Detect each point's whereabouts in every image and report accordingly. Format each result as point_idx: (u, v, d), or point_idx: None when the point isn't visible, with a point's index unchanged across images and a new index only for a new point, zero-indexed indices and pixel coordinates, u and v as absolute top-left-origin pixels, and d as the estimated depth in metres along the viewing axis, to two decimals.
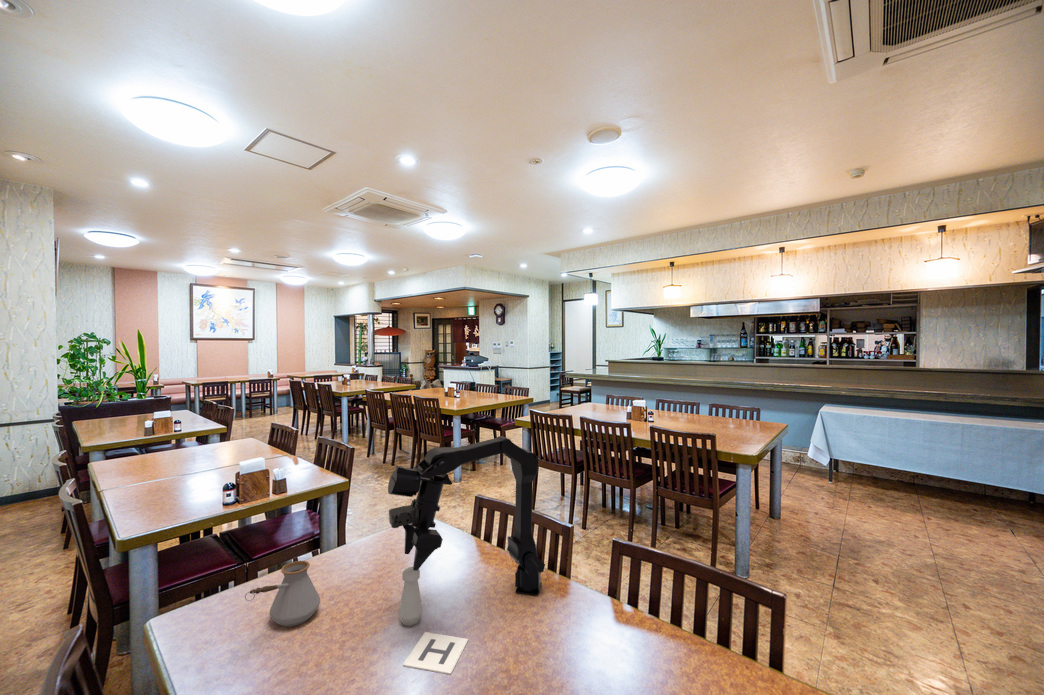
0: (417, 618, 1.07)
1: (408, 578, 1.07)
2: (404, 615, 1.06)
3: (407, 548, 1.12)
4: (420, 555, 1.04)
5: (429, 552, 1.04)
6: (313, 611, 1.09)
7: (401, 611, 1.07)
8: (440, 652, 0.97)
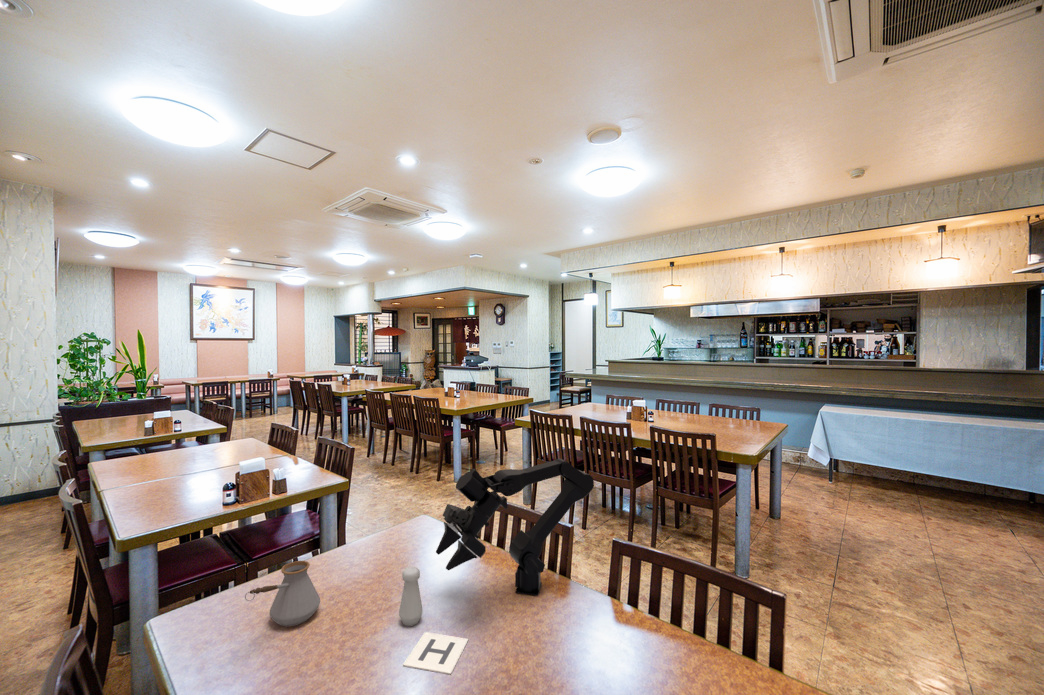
0: (417, 618, 1.07)
1: (408, 578, 1.07)
2: (404, 615, 1.06)
3: (440, 548, 1.17)
4: (458, 557, 1.08)
5: (467, 558, 1.09)
6: (313, 611, 1.09)
7: (401, 611, 1.07)
8: (440, 652, 0.97)
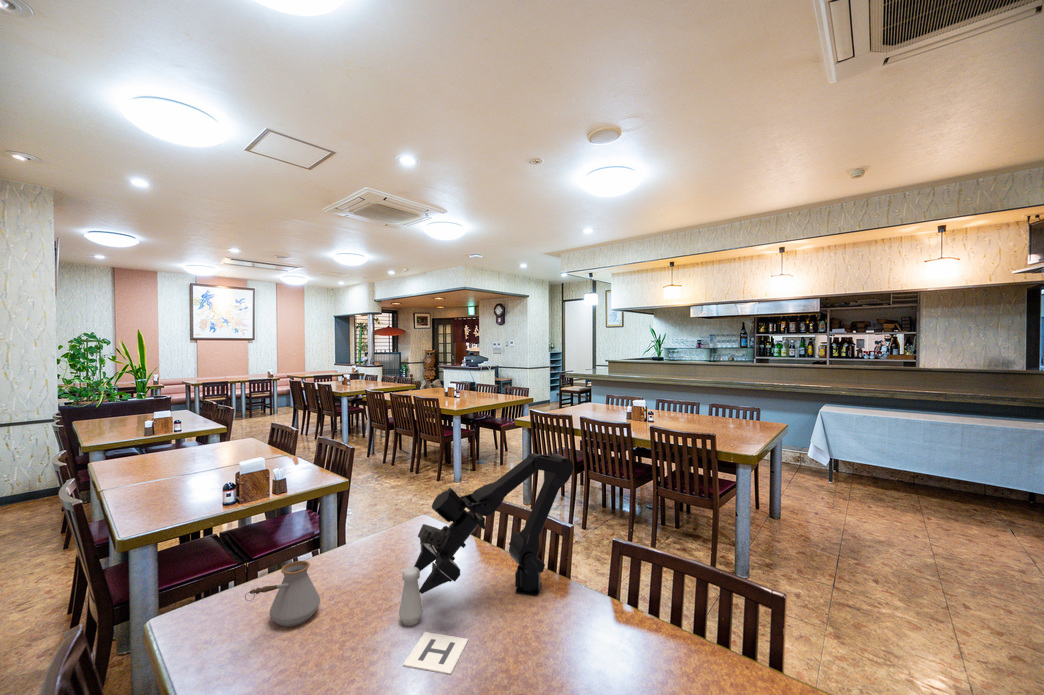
0: (417, 618, 1.07)
1: (408, 578, 1.07)
2: (404, 615, 1.06)
3: None
4: (432, 580, 1.06)
5: (441, 581, 1.06)
6: (313, 611, 1.09)
7: (401, 611, 1.07)
8: (440, 652, 0.97)
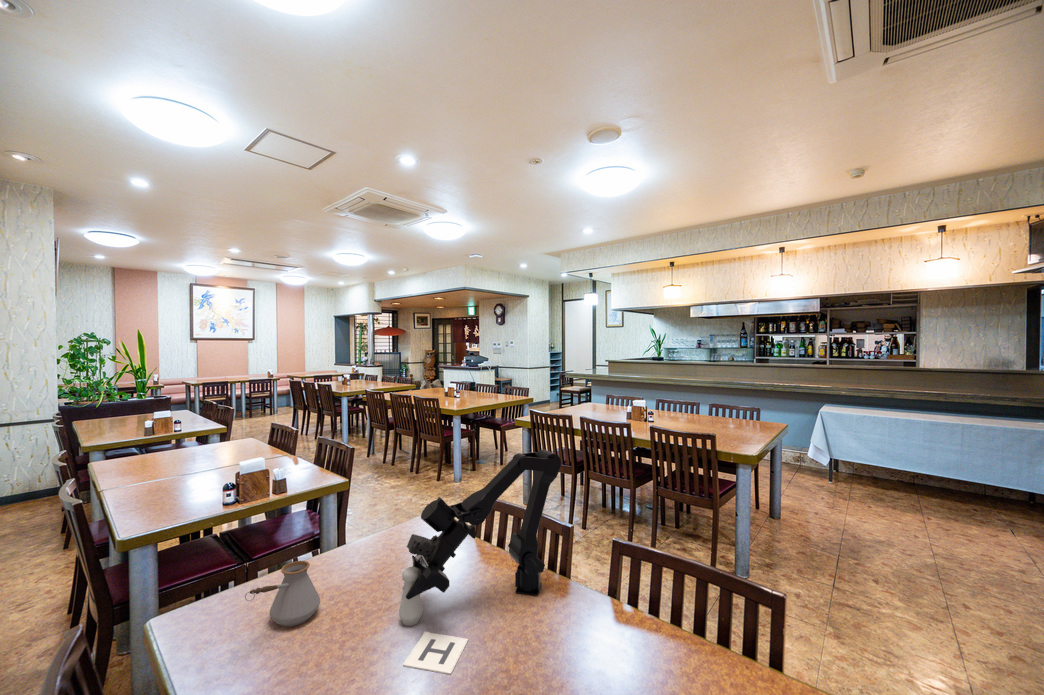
0: (417, 618, 1.07)
1: (408, 578, 1.07)
2: (404, 615, 1.06)
3: None
4: (419, 586, 1.07)
5: (427, 587, 1.07)
6: (313, 611, 1.09)
7: (401, 611, 1.07)
8: (440, 652, 0.97)
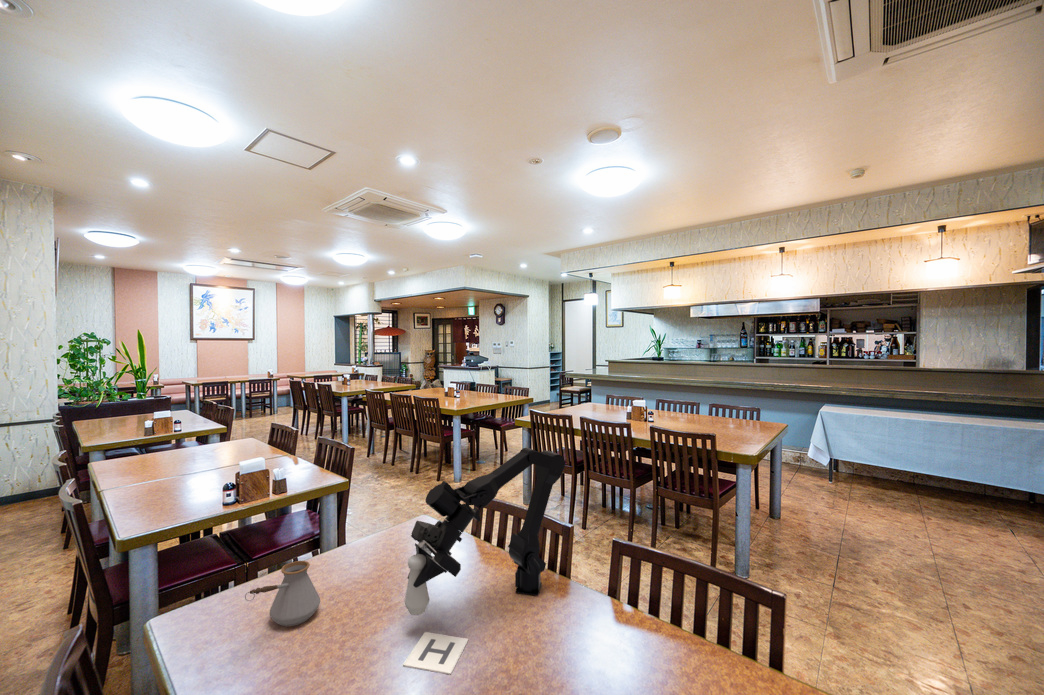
0: (425, 606, 1.03)
1: (416, 565, 1.03)
2: (412, 604, 1.02)
3: None
4: (427, 573, 1.03)
5: (436, 573, 1.04)
6: (313, 611, 1.09)
7: (408, 600, 1.02)
8: (440, 652, 0.97)
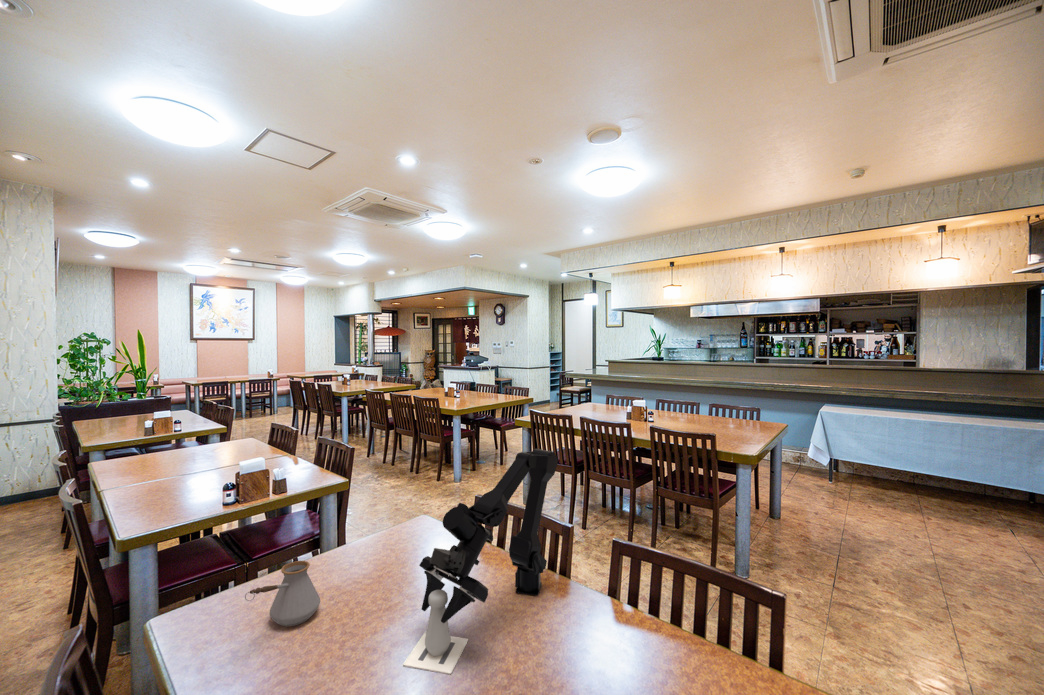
0: (448, 645, 0.97)
1: (440, 602, 0.96)
2: (436, 645, 0.95)
3: (426, 603, 0.99)
4: (455, 605, 0.96)
5: (463, 604, 0.97)
6: (313, 611, 1.09)
7: (432, 641, 0.95)
8: None
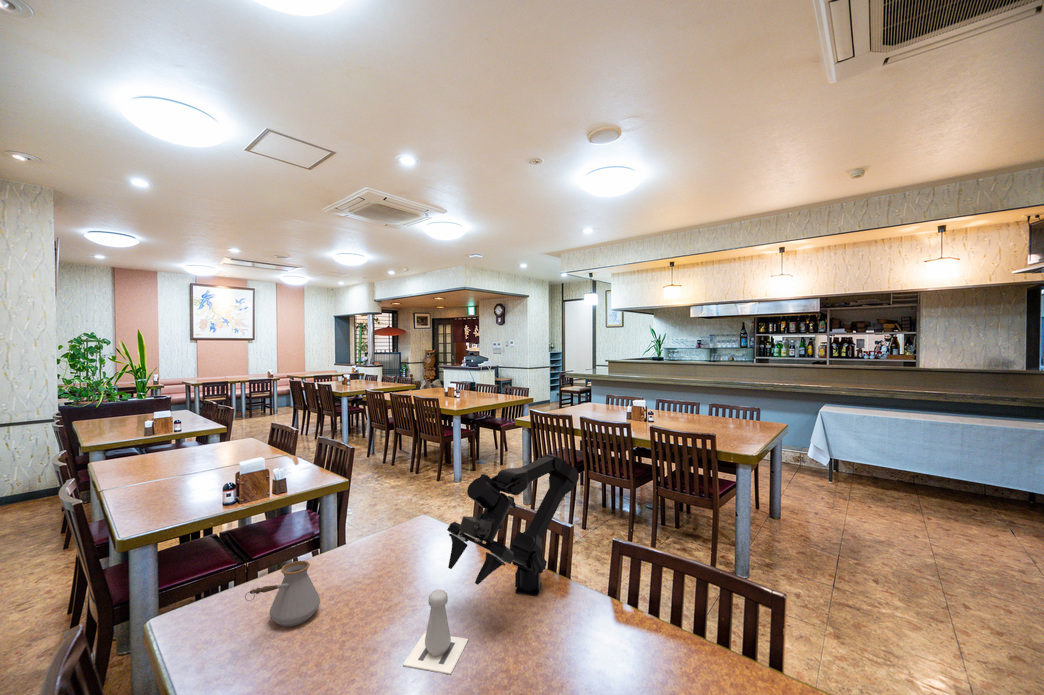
0: (448, 645, 0.97)
1: (440, 602, 0.96)
2: (436, 645, 0.95)
3: (452, 562, 1.09)
4: (487, 569, 1.04)
5: (494, 568, 1.05)
6: (313, 611, 1.09)
7: (432, 642, 0.95)
8: None
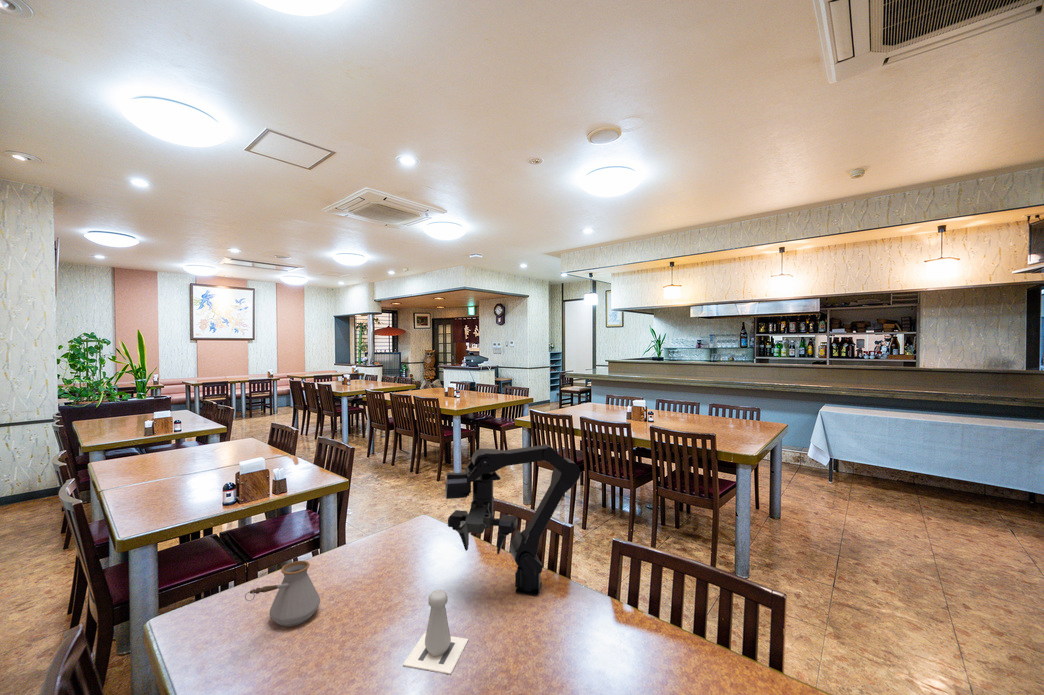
0: (448, 645, 0.97)
1: (440, 602, 0.96)
2: (436, 645, 0.95)
3: (467, 545, 1.21)
4: None
5: None
6: (313, 611, 1.09)
7: (432, 642, 0.95)
8: None
